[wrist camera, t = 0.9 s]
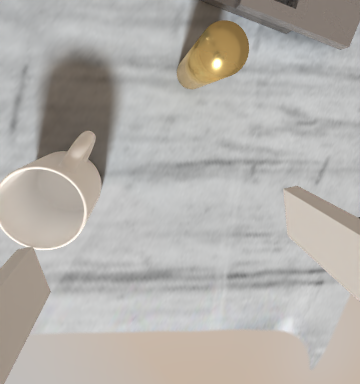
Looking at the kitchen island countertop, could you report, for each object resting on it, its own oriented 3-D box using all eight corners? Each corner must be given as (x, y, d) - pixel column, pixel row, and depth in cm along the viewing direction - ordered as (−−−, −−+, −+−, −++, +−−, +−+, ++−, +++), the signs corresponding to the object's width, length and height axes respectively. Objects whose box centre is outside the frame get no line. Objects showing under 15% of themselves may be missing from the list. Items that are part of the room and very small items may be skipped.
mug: (68, 109, 34) (36, 110, 24) (129, 147, 36) (123, 161, 26) (23, 193, 36) (-23, 224, 27) (83, 224, 38) (61, 264, 29)
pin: (173, 60, 34) (193, 27, 20) (203, 53, 34) (244, 15, 20) (180, 92, 35) (204, 82, 21) (209, 85, 35) (252, 70, 21)
